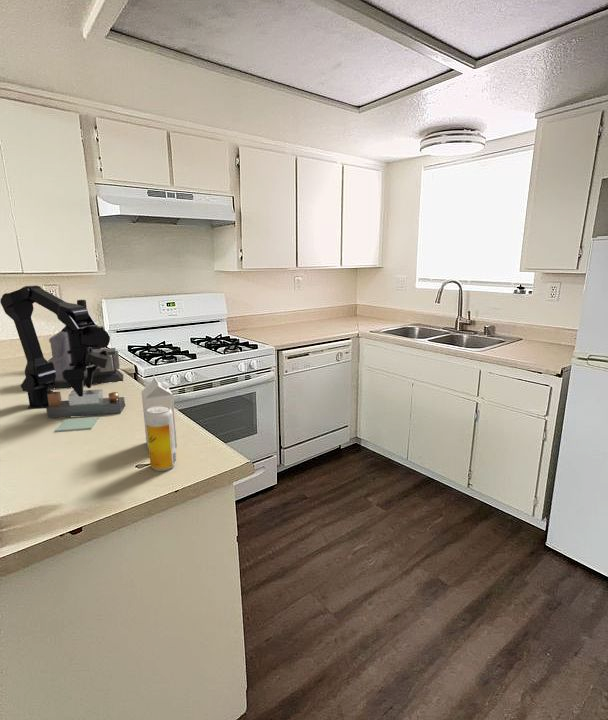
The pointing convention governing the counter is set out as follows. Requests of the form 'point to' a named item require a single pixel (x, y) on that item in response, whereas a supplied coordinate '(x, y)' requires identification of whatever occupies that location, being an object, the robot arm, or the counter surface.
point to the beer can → (161, 437)
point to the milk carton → (157, 400)
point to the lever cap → (85, 397)
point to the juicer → (62, 362)
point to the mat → (77, 424)
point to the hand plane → (84, 406)
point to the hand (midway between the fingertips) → (85, 391)
